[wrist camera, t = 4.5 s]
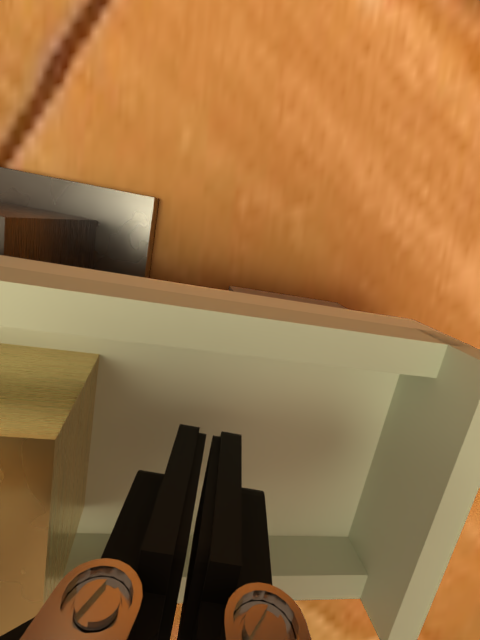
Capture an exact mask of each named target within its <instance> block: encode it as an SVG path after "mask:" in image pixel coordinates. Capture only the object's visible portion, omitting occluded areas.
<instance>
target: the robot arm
mask: <svg viewBox="0 0 480 640" xmlns="http://www.w3.org/2000/svg"><path fill="white" fill-rule="evenodd" d="M199 429H200V427H195V426H189V425H184V424H180V425H179V428H178V432H177V435H176V438H175V441H174V445H173V448H172V451H171V454H170V457H169V461H168V464H167V467H166V470H165V474H161V473H155V472H150V471H144V470H139V471H138V472H137V474H136V476H135V478H134V481H133V483H132V485H131V488H130V490H129V492H128V495H127V497H126V500H125V502H124V504H123V507H122V509H121V511H120V514H119V516H118V518H117V521H116V523H115V526H114V528H113V530H112V533H111V535H110V537H109V540H108V542H107V544H106V547H105V549H104V552H103V554H102V556H101V559H94V560H91V561H88V562H85V563H83V564H80V565H79V566H77V567H76V568H74V569H73V570H71V571H70V572H68V573H67V574H66V576H65V577H64V578H63V579H62V580H61V581H60V582H59V583H58V585H57V586H56V588H55V589H54V590H53V592H52V593H51V595H50V596H49V598H48V599H47V601H46V602H45V603H44V605H43V606H42V608H41V609H40V611H39V612H38V614H37V615H36V616H35V617H34V618H32V619H30V620H28V621H27V622H25V623H23V624H21V625H19V626H18V627H16V628H14V629H12V630H11V631H9V632H7V633H5V634H3V635H2V636H0V640H170V636H171V631H172V626H173V621H174V616H175V611H176V605H177V600H178V595H179V590H180V585H181V580H182V575H183V570H184V565H185V559H186V554H187V548H188V542H189V536H190V530H191V524H192V518H193V512H194V507H195V501H196V495H197V489H198V483H199V477H200V471H201V465H202V459H203V453H204V447H205V441H206V435H207V434H203V433H199ZM177 640H311V637H310V634H309V630H308V627H307V623H306V621H305V619H304V616H303V614H302V612H301V609H300V608H299V607H298V605H297V604H296V603H295V602H294V600H293V599H292V598H291V597H290V596H289V595H287V594H286V593H285V592H284V591H283V590H281V589H279V588H277V587H275V586H273V585H272V573H271V562H270V550H269V539H268V527H267V515H266V504H265V495H264V492H263V491H261V490H255V489H249V488H243V487H242V436H241V435H240V434H234V433H229V432H223V431H222V432H221V435H220V436H214V435H213V437H212V442H211V447H210V452H209V457H208V462H207V467H206V472H205V477H204V482H203V487H202V492H201V497H200V502H199V507H198V512H197V517H196V523H195V528H194V534H193V541H192V547H191V554H190V560H189V566H188V573H187V579H186V586H185V592H184V599H183V605H182V611H181V618H180V624H179V631H178V637H177Z"/></svg>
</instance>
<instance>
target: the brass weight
mask: <svg viewBox="0 0 480 640" xmlns="http://www.w3.org/2000/svg"><path fill="white" fill-rule="evenodd" d="M99 355H100V354H94V353H85V352H76V351H67V350H58V349H49V348H40V347H31V346H22V345H12V344H3V343H0V636H2V635H3V634H5V633H7V632H9V631H11V630H12V629H14V628H16V627H18V626H19V625H21V624H23V623H25V622H27V621H28V620H30V619H32V618H34V617H35V616H36V615H37V614H38V612H39V611H40V609H41V608H42V606H43V605H44V603H45V602H46V601H47V599H48V598H49V596H50V595H51V593H52V592H53V590H54V589H55V588H56V586H57V585H58V583H59V582H60V581H61V580H62V578H63V575H64V571H65V568H66V565H67V561H68V558H69V555H70V552H71V548H72V545H73V542H74V538H75V535H76V532H77V528H78V525H79V522H80V519H81V515H82V512H83V509H84V503H85V493H86V483H87V473H88V463H89V453H90V444H91V434H92V424H93V414H94V404H95V394H96V385H97V375H98V365H99Z"/></svg>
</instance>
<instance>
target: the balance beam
mask: <svg viewBox="0 0 480 640" xmlns="http://www.w3.org/2000/svg"><path fill="white" fill-rule="evenodd" d="M0 343H3V344H12V345H22V346H31V347H40V348H49V349H58V350H67V351H76V352H85V353H94V354H100V355H99V365H98V375H97V385H96V394H95V404H94V414H93V424H92V434H91V444H90V453H89V463H88V473H87V483H86V493H85V503H84V509H83V512H82V515H81V519H80V522H79V525H78V528H77V532H76V535H75V538H74V542H73V545H72V548H71V552H70V555H69V558H68V561H67V565H66V568H65V571H64V575H63V578H64V577H65V576H66V574H67V573H68V572H70V571H71V570H73V569H74V568H76V567H77V566H79V565H80V564H83V563H85V562H88V561H91V560H94V559H101V556H102V554H103V552H104V549H105V547H106V544H107V542H108V540H109V537H110V535H111V533H112V530H113V528H114V526H115V523H116V521H117V518H118V516H119V514H120V511H121V509H122V507H123V504H124V502H125V500H126V497H127V495H128V492H129V490H130V488H131V485H132V483H133V481H134V478H135V476H136V474H137V472H138V471H139V470H144V471H150V472H155V473H161V474H165V470H166V467H167V464H168V461H169V457H170V454H171V451H172V448H173V445H174V441H175V438H176V435H177V432H178V428H179V425H180V424H184V425H189V426H195V427H200V429H199V433H203V434H207V435H206V441H205V447H204V453H203V459H202V465H201V471H200V477H199V483H198V489H197V495H196V501H195V507H194V512H193V518H192V524H191V530H190V536H189V542H188V548H187V554H186V559H185V565H184V570H183V575H182V580H181V585H180V590H179V595H178V600H177V603H183V599H184V592H185V586H186V579H187V573H188V566H189V560H190V554H191V547H192V541H193V534H194V528H195V523H196V517H197V512H198V507H199V502H200V497H201V492H202V487H203V482H204V477H205V472H206V467H207V462H208V457H209V452H210V447H211V442H212V437H213V435H214V436H220V435H221V432H222V431H223V432H229V433H234V434H240V435H241V436H242V487H243V488H249V489H255V490H261V491H263V492H264V495H265V504H266V515H267V527H268V539H269V550H270V562H271V573H272V585H273V586H275V587H277V588H279V589H281V590H283V591H284V592H285V593H286V594H287V595H289V596H290V597H291V598H292V599H293V600H323V599H361V601H362V603H363V606H364V608H365V610H366V612H367V614H368V616H369V618H370V620H371V622H372V624H373V626H374V628H375V630H376V633H377V635H378V637H379V639H380V640H417V638H418V636H419V634H420V631H421V629H422V626H423V624H424V621H425V619H426V616H427V614H428V612H429V609H430V607H431V604H432V602H433V599H434V597H435V594H436V592H437V590H438V587H439V585H440V582H441V580H442V577H443V575H444V572H445V570H446V568H447V565H448V563H449V560H450V558H451V555H452V553H453V550H454V548H455V546H456V543H457V541H458V538H459V536H460V533H461V531H462V528H463V526H464V524H465V521H466V519H467V516H468V514H469V511H470V509H471V506H472V504H473V502H474V499H475V497H476V494H477V492H478V489H479V487H480V350H479V349H477V348H475V347H473V346H470V345H468V344H466V343H464V342H462V341H459V340H457V339H455V338H453V337H451V336H448V335H446V334H444V333H442V332H439V331H437V330H435V329H433V328H431V327H428V326H426V325H424V324H422V323H420V322H417V321H415V320H413V319H407V318H400V317H394V316H387V315H381V314H375V313H368V312H362V311H355V310H349V309H347V308H345V307H343V306H342V305H340V304H338V303H335V302H329V301H323V300H316V299H310V298H304V297H298V296H291V295H285V294H279V293H273V292H266V291H260V290H254V289H247V288H241V287H235V286H229V291H227V290H221V289H215V288H208V287H202V286H195V285H189V284H183V283H176V282H170V281H163V280H157V279H151V278H144V277H138V276H131V275H125V274H119V273H112V272H106V271H99V270H93V269H87V268H80V267H74V266H67V265H61V264H55V263H48V262H42V261H35V260H29V259H23V258H16V257H10V256H3V255H0ZM63 578H62V579H63Z"/></svg>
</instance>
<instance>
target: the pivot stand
mask: <svg viewBox="0 0 480 640" xmlns="http://www.w3.org/2000/svg"><path fill="white" fill-rule="evenodd" d="M158 204H159V199H157V198H154V197H149V196H144V195H139V194H134V193H129V192H124V191H118V190H113V189H108V188H103V187H98V186H93V185H88V184H83V183H78V182H73V181H68V180H63V179H58V178H53V177H48V176H43V175H37V174H32V173H27V172H22V171H17V170H12V169H7V168H2V167H0V255H3V256H10V257H16V258H23V259H29V260H35V261H42V262H48V263H55V264H61V265H67V266H74V267H80V268H87V269H93V270H99V271H106V272H112V273H119V274H125V275H131V276H138V277H144V278H149V274H150V266H151V258H152V250H153V243H154V235H155V227H156V220H157V212H158Z"/></svg>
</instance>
